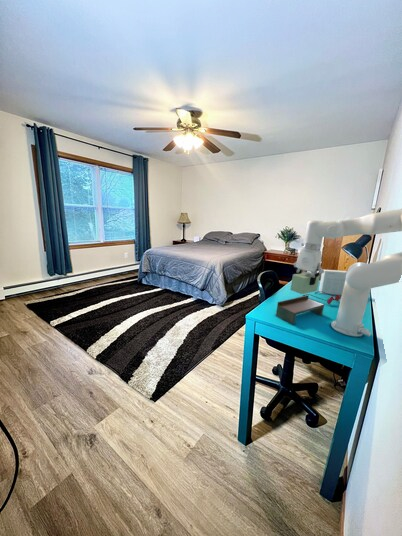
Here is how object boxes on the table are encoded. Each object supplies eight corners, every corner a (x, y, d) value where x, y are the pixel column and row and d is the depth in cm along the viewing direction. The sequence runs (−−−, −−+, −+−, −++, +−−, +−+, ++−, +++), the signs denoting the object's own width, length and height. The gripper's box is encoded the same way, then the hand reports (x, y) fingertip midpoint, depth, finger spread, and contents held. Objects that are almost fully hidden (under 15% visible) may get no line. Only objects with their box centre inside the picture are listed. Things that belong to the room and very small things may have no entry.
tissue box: (316, 290, 109) (320, 273, 106) (301, 294, 103) (305, 275, 100) (305, 286, 114) (308, 270, 112) (290, 289, 108) (293, 272, 106)
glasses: (327, 306, 126) (329, 298, 125) (302, 296, 140) (303, 288, 138) (340, 302, 133) (342, 294, 132) (315, 293, 147) (316, 286, 145)
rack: (322, 315, 114) (325, 301, 112) (292, 324, 102) (295, 309, 100) (305, 307, 122) (307, 295, 120) (275, 315, 110) (277, 301, 108)
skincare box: (349, 293, 150) (354, 271, 146) (353, 296, 144) (359, 273, 140) (317, 290, 151) (322, 268, 147) (321, 293, 146) (325, 271, 142)
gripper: (291, 244, 108) (285, 278, 113) (325, 250, 94) (317, 289, 98) (300, 244, 112) (294, 277, 116) (334, 249, 98) (326, 287, 102)
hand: (305, 282), depth 107 cm, fingers closed on tissue box, 6 cm apart
